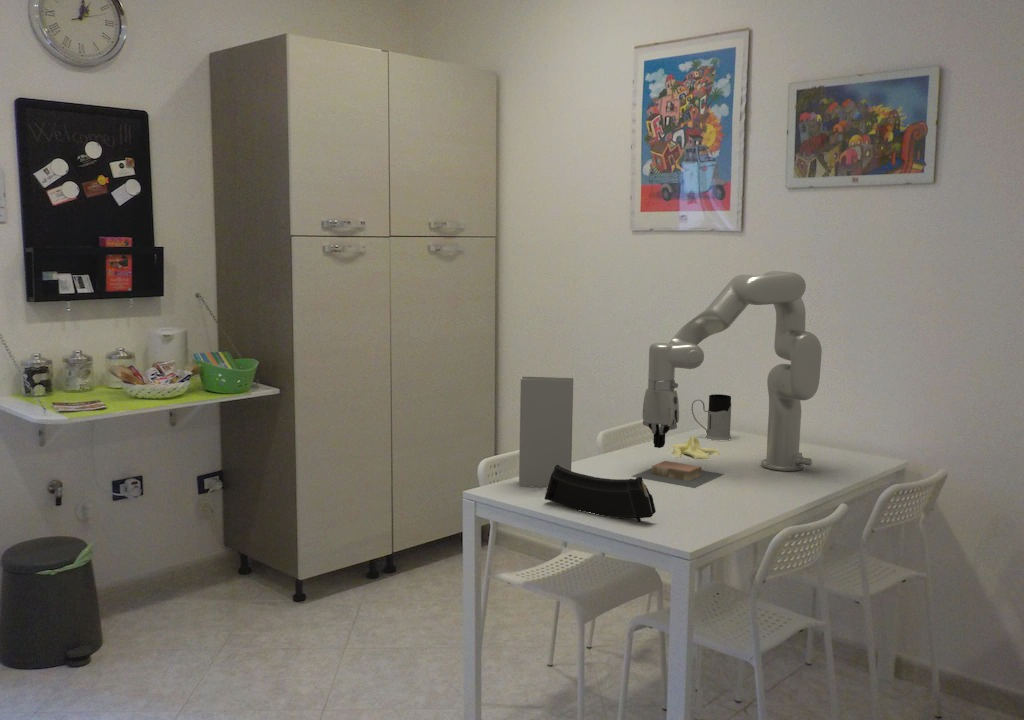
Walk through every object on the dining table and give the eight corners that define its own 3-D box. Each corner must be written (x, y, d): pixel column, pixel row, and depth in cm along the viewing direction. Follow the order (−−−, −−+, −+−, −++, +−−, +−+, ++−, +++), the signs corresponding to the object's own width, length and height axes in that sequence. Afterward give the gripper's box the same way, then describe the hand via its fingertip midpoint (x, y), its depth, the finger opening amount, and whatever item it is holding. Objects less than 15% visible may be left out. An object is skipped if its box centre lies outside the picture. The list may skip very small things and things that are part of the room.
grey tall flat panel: (570, 483, 264) (573, 377, 260) (570, 488, 258) (572, 380, 255) (520, 481, 265) (522, 376, 261) (519, 486, 260) (520, 379, 256)
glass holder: (734, 441, 323) (736, 398, 321) (693, 441, 322) (695, 398, 320) (727, 435, 331) (729, 394, 329) (687, 435, 331) (689, 393, 329)
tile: (664, 469, 280) (701, 475, 272) (651, 474, 273) (689, 480, 266) (664, 460, 279) (701, 466, 272) (651, 465, 273) (689, 471, 266)
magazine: (536, 468, 243) (636, 451, 226) (543, 466, 246) (642, 449, 228) (551, 533, 242) (652, 521, 225) (558, 530, 245) (658, 518, 227)
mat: (724, 475, 275) (724, 474, 275) (694, 489, 259) (694, 487, 259) (663, 465, 286) (663, 463, 286) (631, 477, 271) (631, 476, 270)
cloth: (676, 445, 317) (676, 427, 316) (728, 452, 307) (729, 434, 307) (648, 457, 299) (649, 438, 298) (704, 466, 289) (705, 446, 288)
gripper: (690, 386, 272) (687, 448, 274) (644, 381, 281) (643, 441, 283) (678, 389, 266) (676, 452, 268) (632, 384, 275) (630, 445, 277)
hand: (659, 446), depth 276 cm, fingers closed
